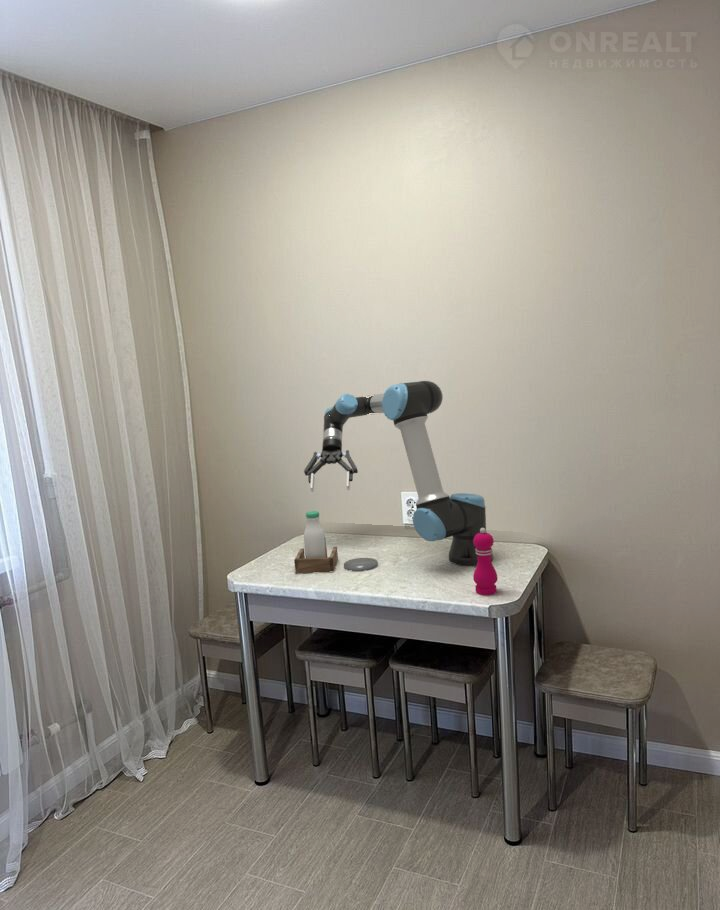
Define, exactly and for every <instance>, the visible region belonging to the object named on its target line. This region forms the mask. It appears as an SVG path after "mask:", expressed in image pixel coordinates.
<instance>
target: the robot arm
mask: <svg viewBox="0 0 720 910" xmlns="http://www.w3.org/2000/svg"><path fill="white" fill-rule="evenodd" d="M373 395H374V396H371V397H369V398H366V397H363V396H356V397H355V396H354V395H353V394H349V393H344V394H342V395H341V396H340V397H339V398H338V399H337V400H336V402H335V403H334V405H333V406H330V407H329V408H327V409H326V410H325V412H324V416H323V433H322V449H321V452H320V453H318V452H317V451H314V452H313V455H312V458H311V459H310V461H309V462H308V464H307V465H306V467H305V468H304V469H303V473H304V475H305V476H308V477H307V479H308V480H307V481H308V483H309V484H310V492H314V491H315V488H314V487H315V475H316V473H318V471H319V470H321V469H322V467H324V466H326V465H327V464H328V465H332V464H333V465H334V464H337V463H338V465H340V466H341V467H342V468H343V469H344V470H345V472H346V490H347V491H349V490H350V488H351V487H350V486H351V485H350V484H351V482H353V477H354V474H357V473H358V472H359V471H358V467H357V465H356V464H355V461H354V460H353V459H352V457H351V455H350V450H348V449H347V450H346V451H342V450H343V427H344V426H345V424H346V422H347V421H348V420H349V419H351V418H356V417H357V418H358V417H362V416H368V415H367V414H369V413H379V414H384V416H385V417H386V418H387V419H388V420H390V421H393V425H394V427H395V428H397V429H398V430H400V435H401V438H402V441H403V442H402V443H403V445H404V448H405V453H406V457H407V460H408V463H409V467H410V468H409V469H410V471H411V475H412V478H413V481H414V482H413V483H414V485H415V491H416V493H417V497H418V499H417V501H416V502H415V506H416V509H415V511H414V512H413V517H412V525H413V526H414V527H413V528H414V530H415V531H416V533H417V534H418V535H419V537H421V538H422V539H423V540H425V541H427V542H436V541H442V540H444V539H447V538H451V537H452V540H451V544H450V548H449V552H448V561H449V562H450V563H451V564H455V565H457V566H477V563H478V556H477V554H476V550H475V549H476V547H475V545H474V543H473V540H474V537H475V535H476V534H478V533H481V532H480V529H481V528H485V529H486V530H487V522H486V521H487V520H486V518H487V517H486V516H487V515H486V514H487V513H486V509H487V508H486V505H485V503H486V502H485V499H484V496H482V495H480V494H475V493H466V492H465V493H464V492H462V493H457V492H456V493H452V494H451V495H449V494H447V493H446V492H444V490H443V489H444V488H443V485H442V482H441V478H440V475H439V470H438V467H437V463H436V460H435V456H434V451H433V448H432V445H431V442H430V438H429V433H428V430H427V426H426V422H427V420H428V414H429V415H430V414H432V413H434V412H436V411H437V410H438V409H439V408H440V407H441V405H442V402H443V393H442V390H441V387H439V384H436V383H435V382H433V381H430V380H420V381H412V382H400V383H395V384H392V385H390V386H389V387H388V388H386V390H385V391H384V393H378V394H373ZM329 415H330V416H329ZM343 457H344V458H345V459H346V460H347V461H348V463H349V465H350V466H349V465H348V464H347V463H346V462H345V460H343V459H342V458H343ZM493 557H494V555H493V553H492V554H491V560H492V561H493Z"/></svg>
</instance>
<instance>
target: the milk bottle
mask: <svg viewBox="0 0 720 910" xmlns="http://www.w3.org/2000/svg"><path fill="white" fill-rule="evenodd" d="M305 517H306V526H305V529H304V532H303V543H304V555H305V558H324V557H328V550H327V540H326V533H325V530H324V527H323V526H322V524H321V522H320V512H319V510H318V511H317V510H311V511H308V512H306V513H305Z"/></svg>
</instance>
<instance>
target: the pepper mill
mask: <svg viewBox="0 0 720 910" xmlns="http://www.w3.org/2000/svg"><path fill="white" fill-rule="evenodd" d="M480 532H481V533H478V534H476V535H475V537H474V540H473V543H474V545H475V547H476V549H475V550H476V554H477V556H478V563H477V565H476V566H475V569H474V572H473V582H474V583H475V586H474V587H475V593H476V594H477V595H482V596H491V595H494V594H495V592H496V593H497V585H496V583H497V582H498V573H497V571H496V569H495V567H494V565H493V562H492V561H493V560H492V561H491V554H493V546H494V543H495V541H494V538H493V536H492V535H491V534H490V533H488V532H487V528H486V529H485V528H481V529H480Z"/></svg>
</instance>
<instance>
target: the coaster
mask: <svg viewBox="0 0 720 910" xmlns="http://www.w3.org/2000/svg"><path fill="white" fill-rule="evenodd" d="M378 566H379V561H378V560H377V559H375V558H373V557H358V558H351V559H349V560H346V561H344V563H343V568H344V570H346V569H347V570H346V571H349V570H352V571H351V572H364V570H367V571H370V569H371V570H373V568H374V569H376V568H377V567H378ZM375 567H376V568H375Z"/></svg>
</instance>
